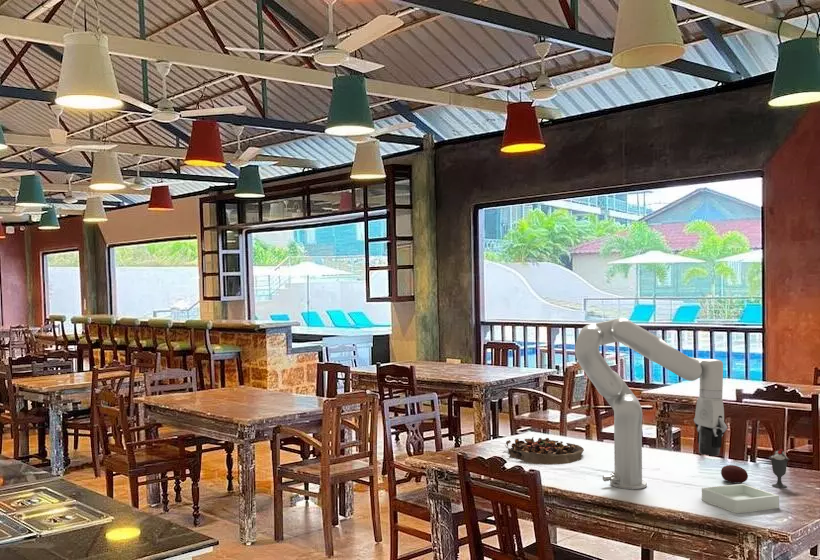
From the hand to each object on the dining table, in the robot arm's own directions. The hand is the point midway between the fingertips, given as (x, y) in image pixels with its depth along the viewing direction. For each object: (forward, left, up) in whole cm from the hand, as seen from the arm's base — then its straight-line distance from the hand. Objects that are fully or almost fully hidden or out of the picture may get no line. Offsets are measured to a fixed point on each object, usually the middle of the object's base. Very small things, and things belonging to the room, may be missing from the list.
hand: (709, 444), depth 277 cm
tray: (-3, -18, -16) cm, 24 cm away
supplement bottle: (0, 0, -3) cm, 3 cm away
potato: (+15, +5, -16) cm, 22 cm away
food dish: (-27, +70, -16) cm, 77 cm away
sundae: (+26, -5, -16) cm, 31 cm away
